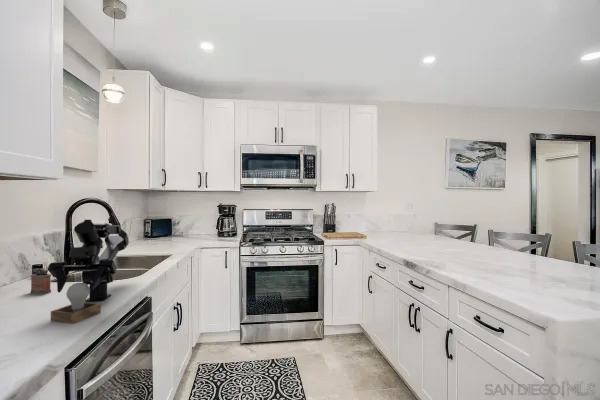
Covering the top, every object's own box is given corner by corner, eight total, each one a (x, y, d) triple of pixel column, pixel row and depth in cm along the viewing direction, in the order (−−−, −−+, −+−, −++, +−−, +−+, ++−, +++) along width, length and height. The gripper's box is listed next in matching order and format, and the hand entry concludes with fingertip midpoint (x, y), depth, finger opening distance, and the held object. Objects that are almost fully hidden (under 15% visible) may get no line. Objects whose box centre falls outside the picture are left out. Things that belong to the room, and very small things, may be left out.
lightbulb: (63, 316, 94) (64, 283, 94) (85, 311, 98) (86, 279, 98) (68, 321, 90) (69, 286, 90) (91, 315, 95) (92, 282, 95)
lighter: (53, 291, 121) (53, 267, 121) (45, 294, 117) (45, 269, 117) (36, 290, 121) (36, 267, 121) (27, 293, 118) (28, 269, 118)
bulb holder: (79, 310, 99) (79, 301, 99) (100, 312, 97) (100, 303, 97) (50, 320, 90) (50, 311, 91) (73, 323, 88) (73, 314, 88)
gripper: (50, 238, 96) (29, 280, 85) (113, 236, 101) (101, 275, 90) (62, 257, 103) (44, 297, 93) (121, 254, 108) (110, 292, 98)
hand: (75, 290), depth 93 cm, fingers open, 9 cm apart
